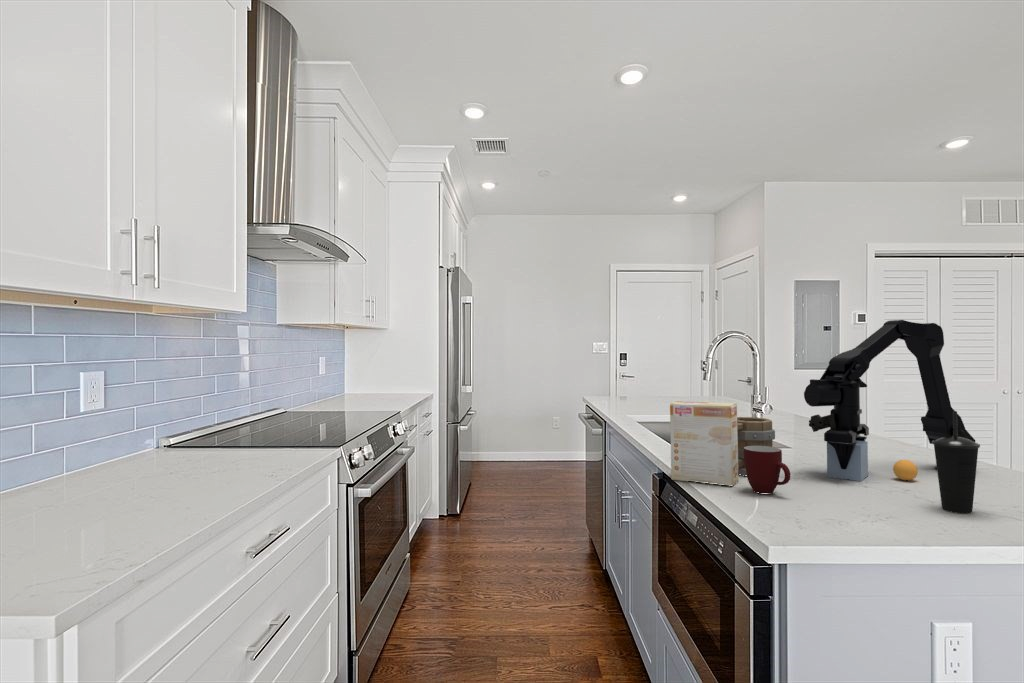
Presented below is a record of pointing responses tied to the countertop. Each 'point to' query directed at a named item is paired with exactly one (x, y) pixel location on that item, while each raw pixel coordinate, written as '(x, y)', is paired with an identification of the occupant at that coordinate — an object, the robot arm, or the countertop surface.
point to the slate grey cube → (856, 465)
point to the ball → (905, 470)
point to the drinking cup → (956, 470)
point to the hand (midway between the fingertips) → (847, 466)
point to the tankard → (752, 436)
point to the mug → (764, 468)
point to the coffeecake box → (704, 442)
